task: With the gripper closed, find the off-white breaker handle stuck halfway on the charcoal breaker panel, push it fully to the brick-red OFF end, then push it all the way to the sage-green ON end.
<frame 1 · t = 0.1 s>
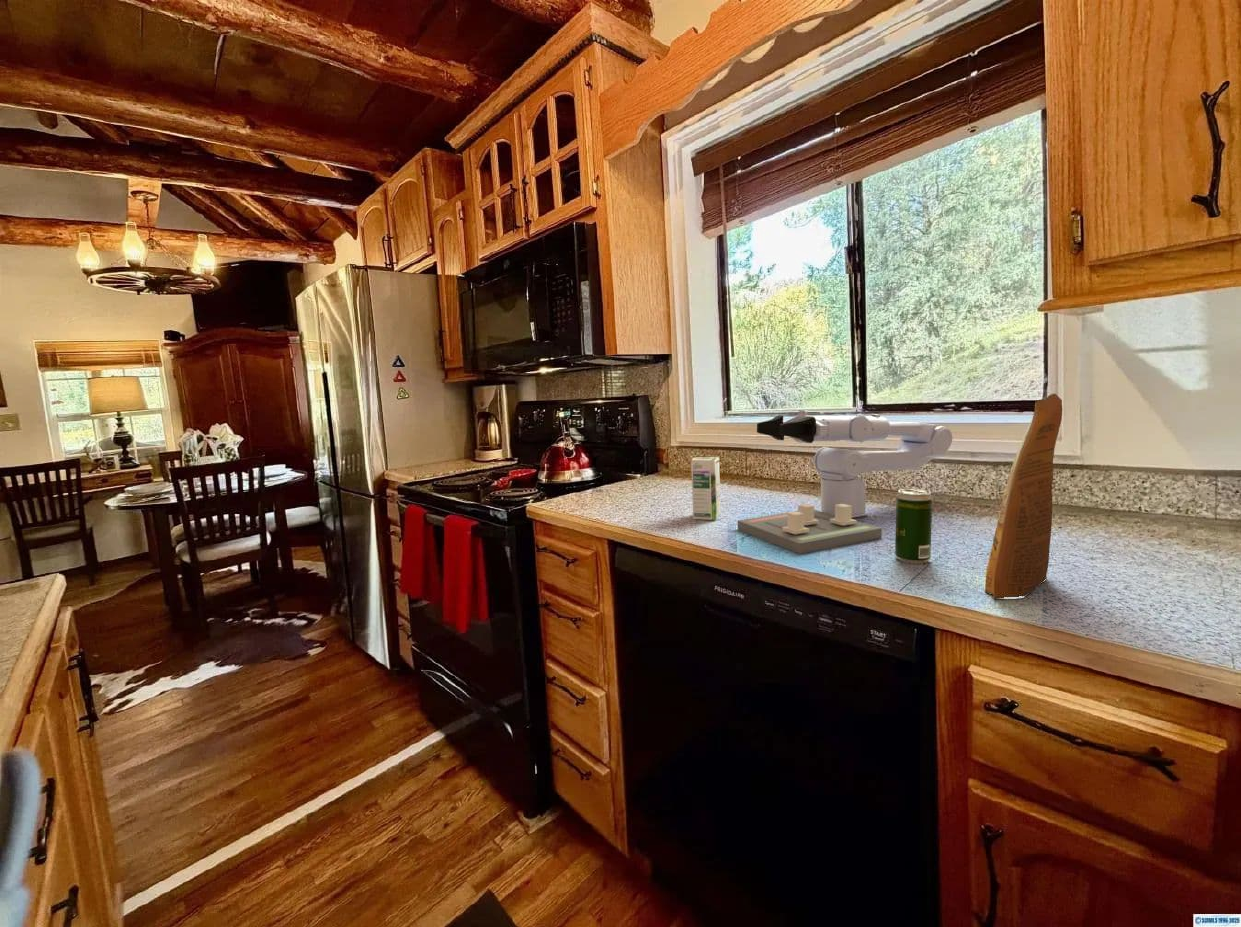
hand: (768, 428, 115), 22 cm above the counter, tool horizontal, fingers open, 7 cm apart
breaker handle 1: (795, 522, 105), point 4 cm above the counter, slide at 8.0 cm
pancake mix bag: (1021, 587, 79), on the counter
breaker panel: (806, 533, 112), on the counter
breaker handle 2: (843, 514, 110), point 4 cm above the counter, slide at 8.0 cm
beer can: (912, 560, 93), on the counter
syrup box: (706, 518, 129), on the counter
tripped breaker handle: (806, 513, 111), point 4 cm above the counter, slide at 4.0 cm
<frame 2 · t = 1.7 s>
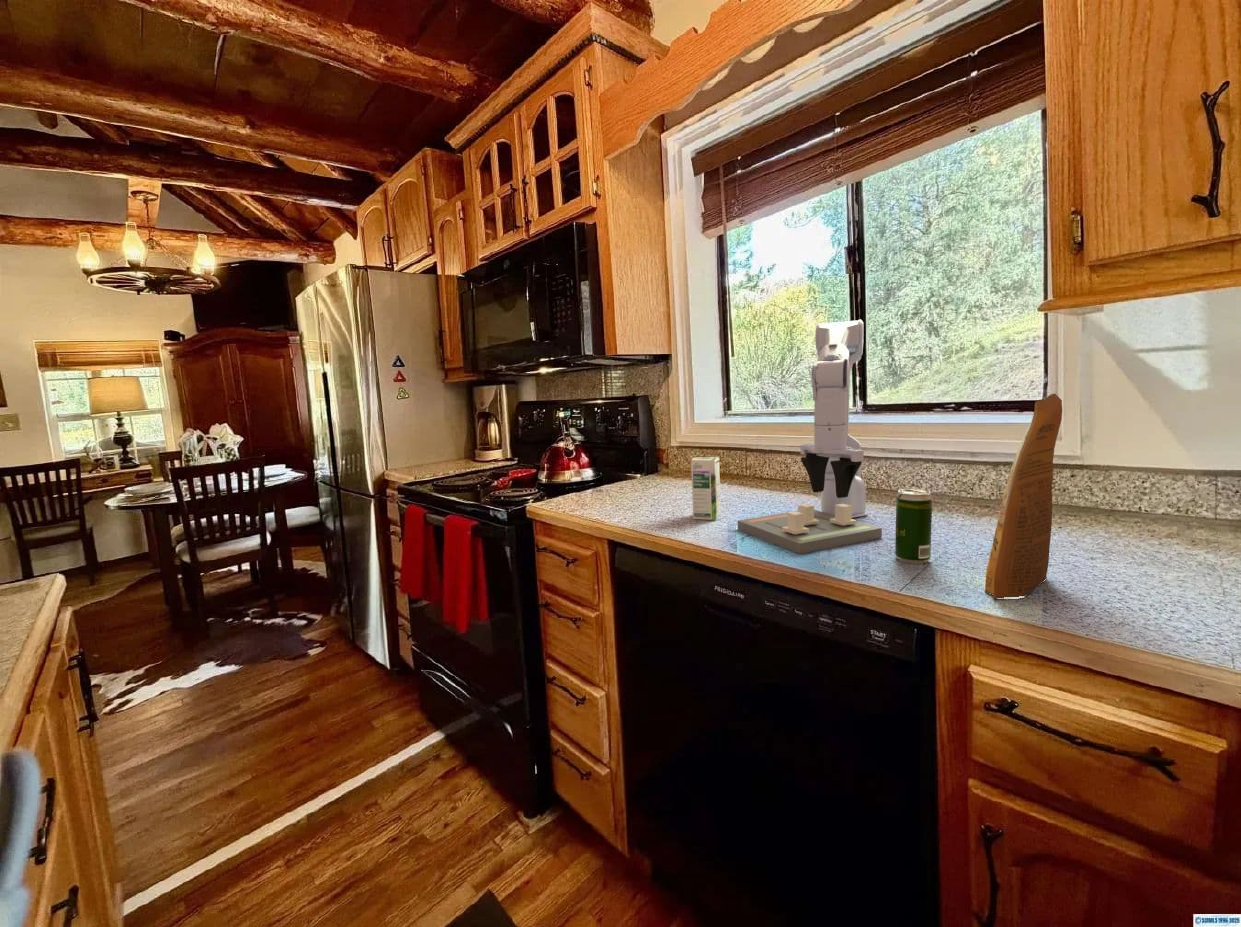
hand: (829, 494, 104), 9 cm above the counter, tool pointing down, fingers open, 6 cm apart
nothing on the counter moved.
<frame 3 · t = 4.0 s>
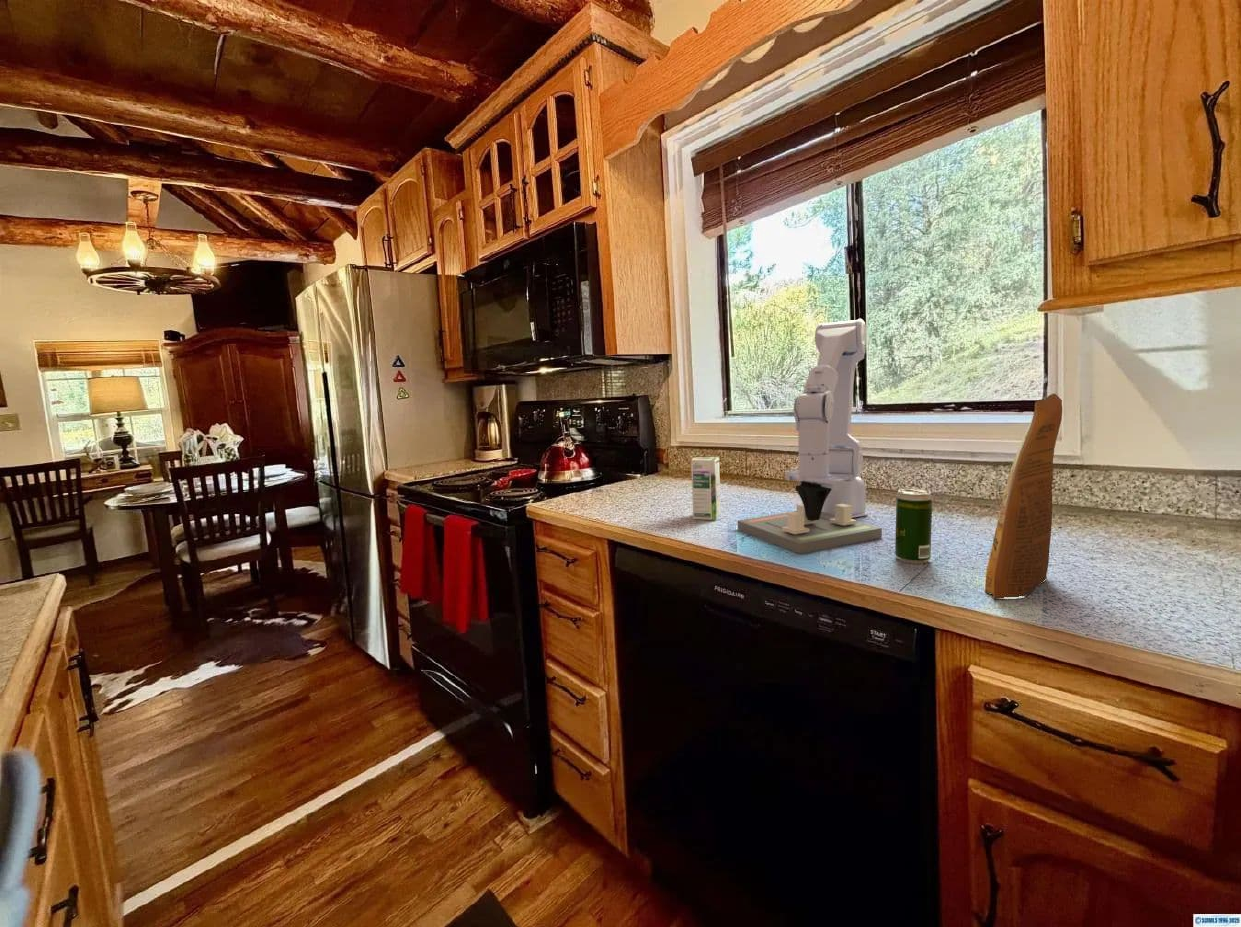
hand: (813, 519, 109), 3 cm above the counter, tool pointing down, fingers closed
tripped breaker handle: (804, 513, 112), point 4 cm above the counter, slide at 3.5 cm, touching gripper
everything else where it was.
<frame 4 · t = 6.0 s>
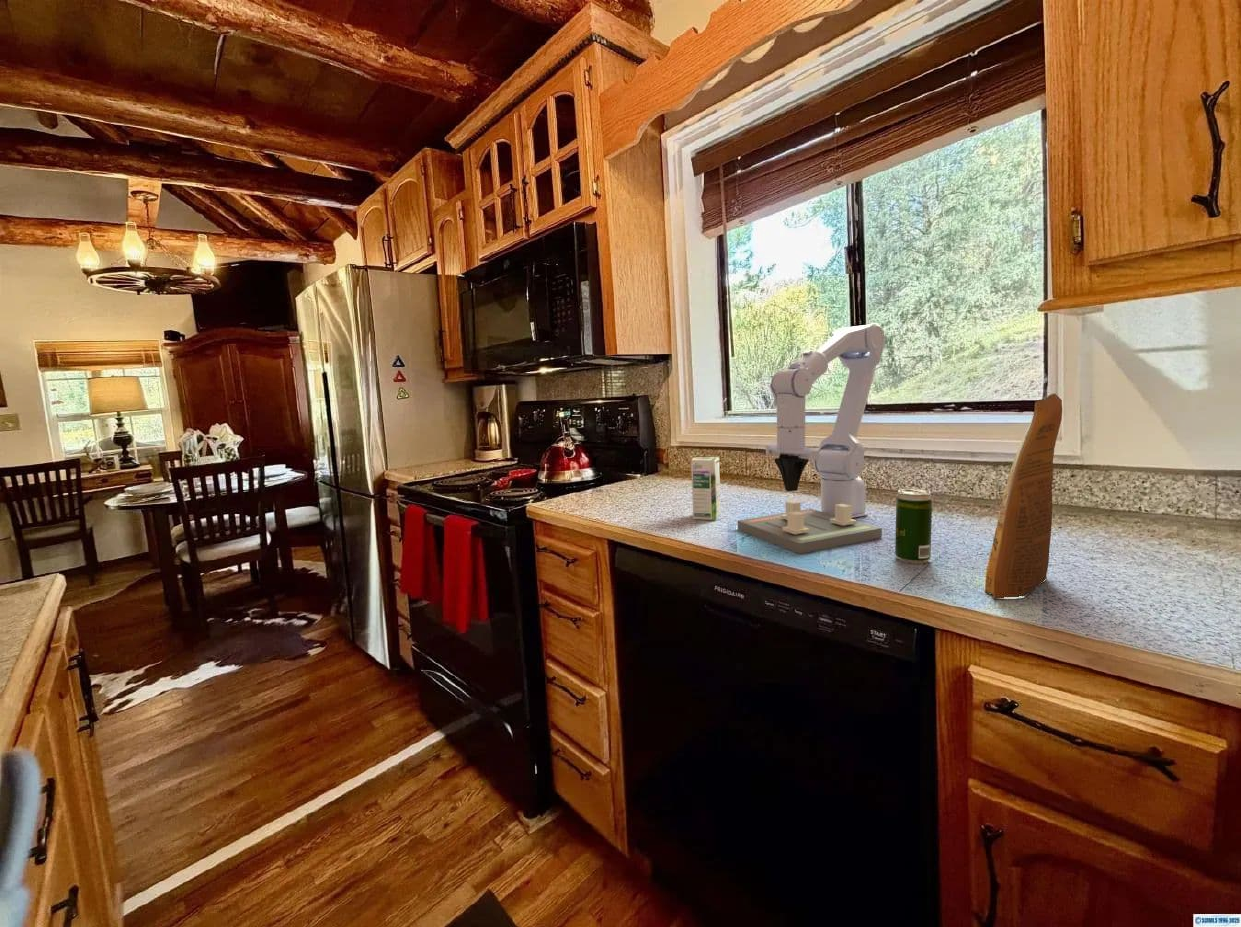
hand: (791, 490, 115), 8 cm above the counter, tool pointing down, fingers closed
tripped breaker handle: (793, 510, 115), point 4 cm above the counter, slide at -0.1 cm
everything else where it was.
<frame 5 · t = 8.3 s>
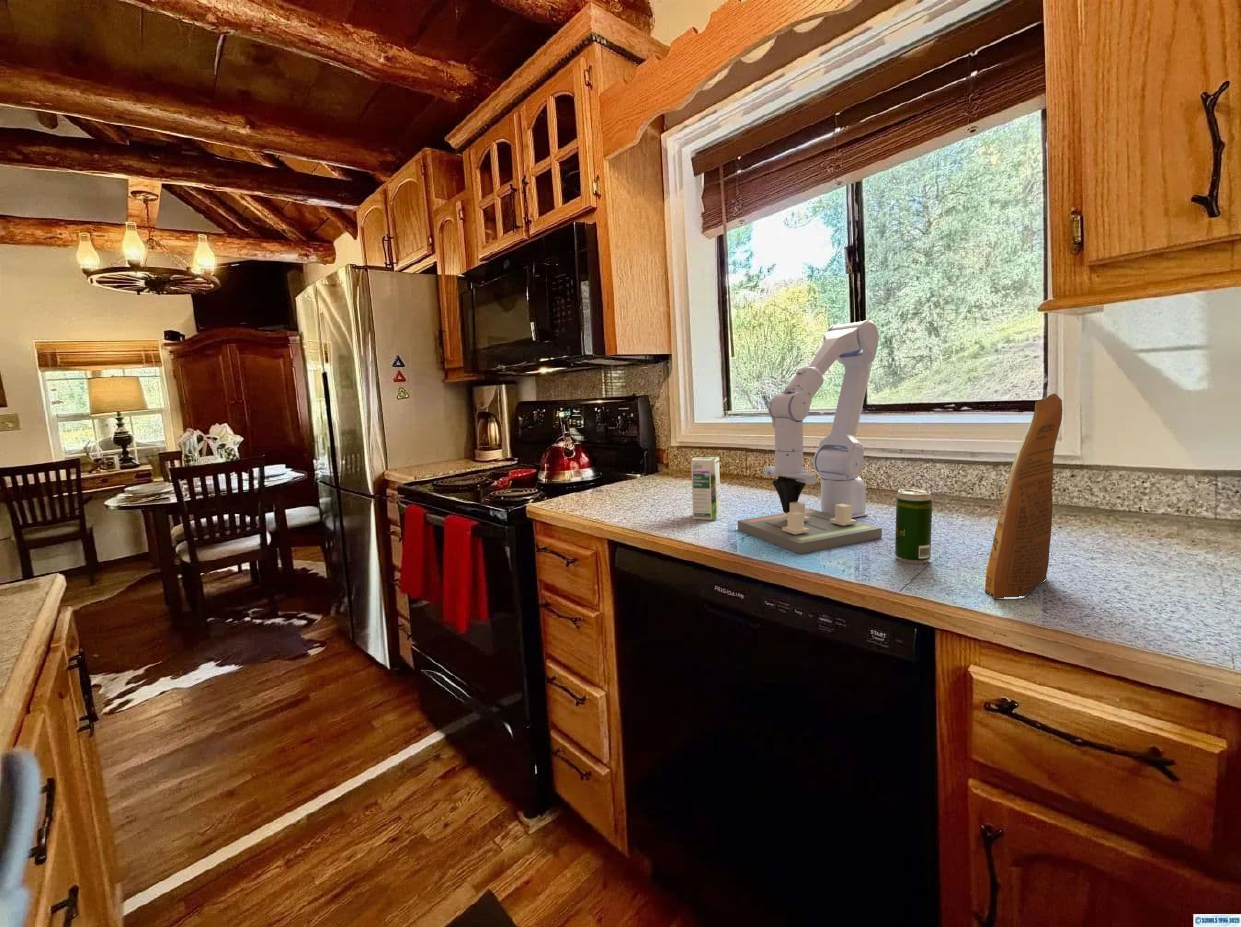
hand: (789, 512, 116), 3 cm above the counter, tool pointing down, fingers closed
tripped breaker handle: (797, 511, 114), point 4 cm above the counter, slide at 1.3 cm, touching gripper
everything else where it was.
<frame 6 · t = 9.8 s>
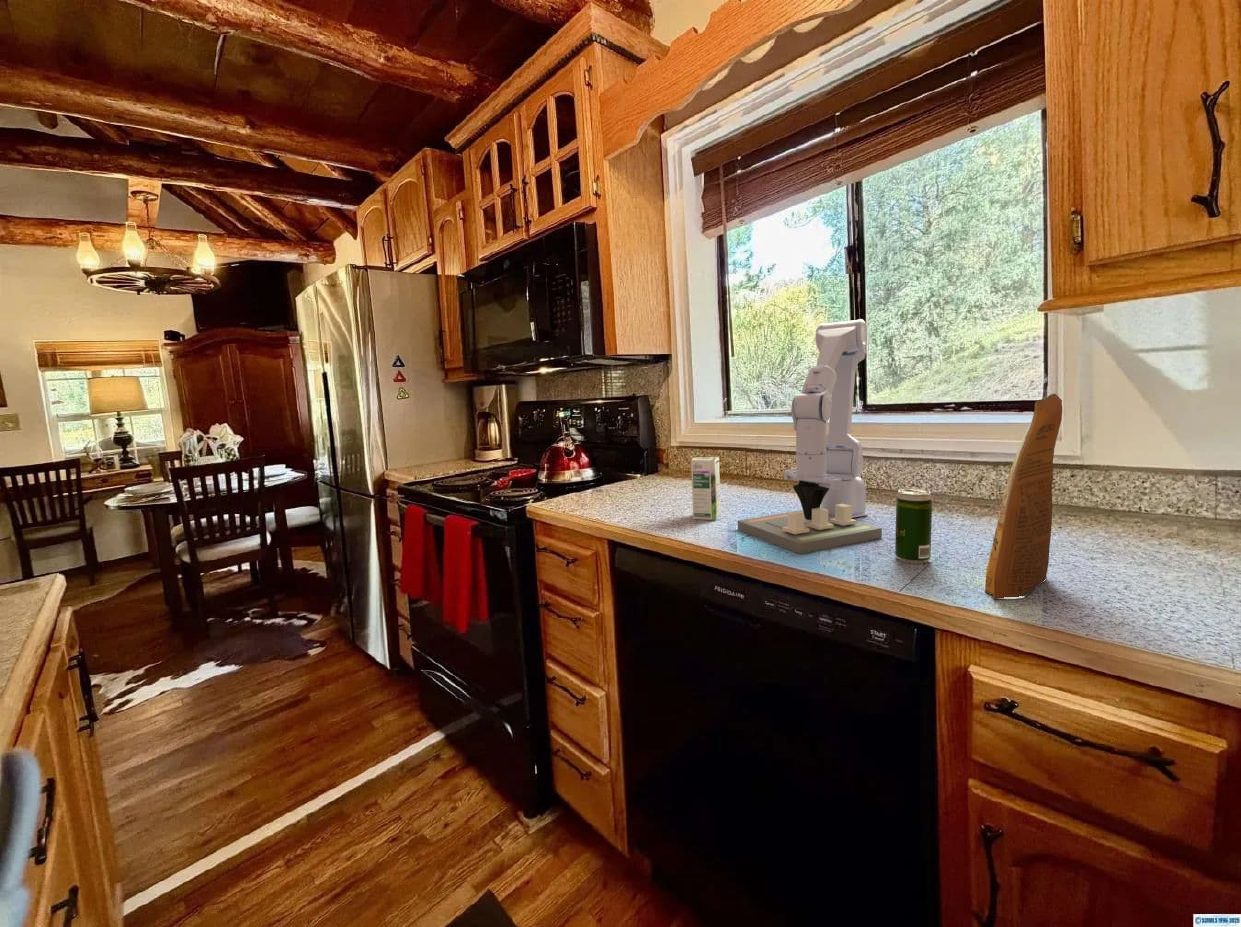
hand: (811, 519, 110), 3 cm above the counter, tool pointing down, fingers closed
tripped breaker handle: (819, 518, 107), point 4 cm above the counter, slide at 8.0 cm, touching gripper
everything else where it was.
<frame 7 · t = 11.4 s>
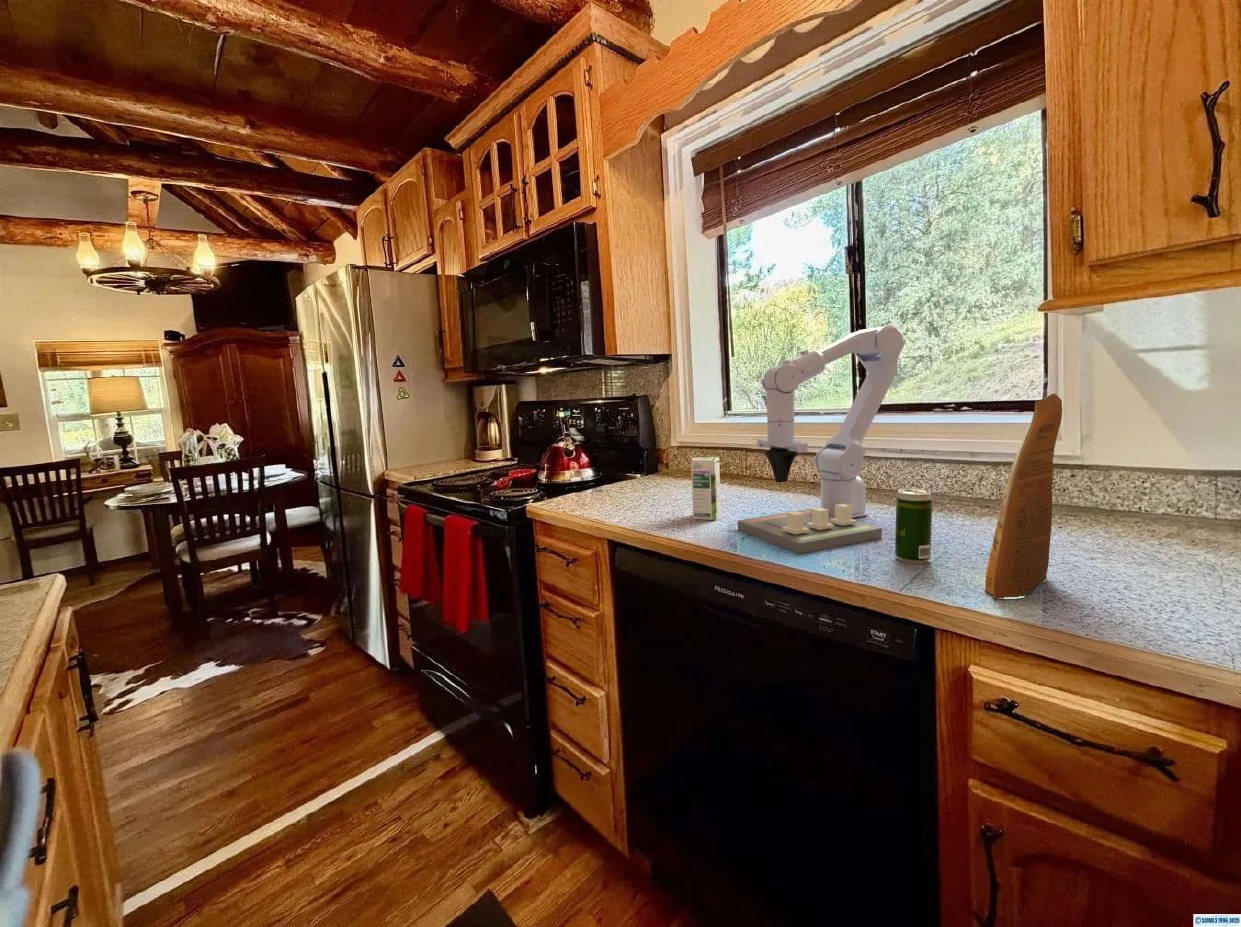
hand: (781, 481, 120), 9 cm above the counter, tool pointing down, fingers closed
tripped breaker handle: (820, 518, 107), point 4 cm above the counter, slide at 8.1 cm
everything else where it was.
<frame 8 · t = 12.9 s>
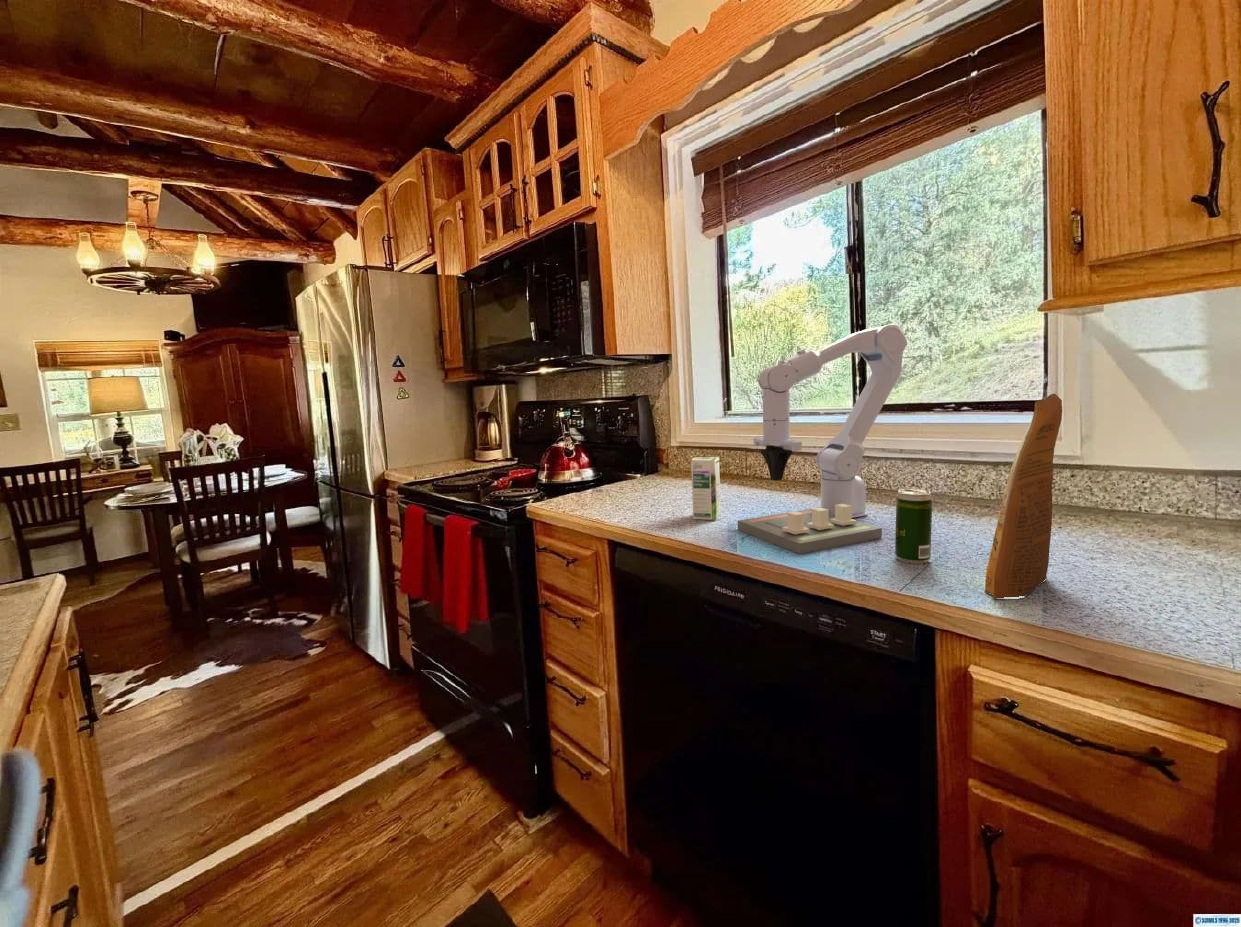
hand: (776, 479, 122), 9 cm above the counter, tool pointing down, fingers closed
nothing on the counter moved.
at the end: tripped breaker handle slide at 8.1 cm; breaker handle 2 slide at 8.0 cm; breaker handle 1 slide at 8.0 cm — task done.
